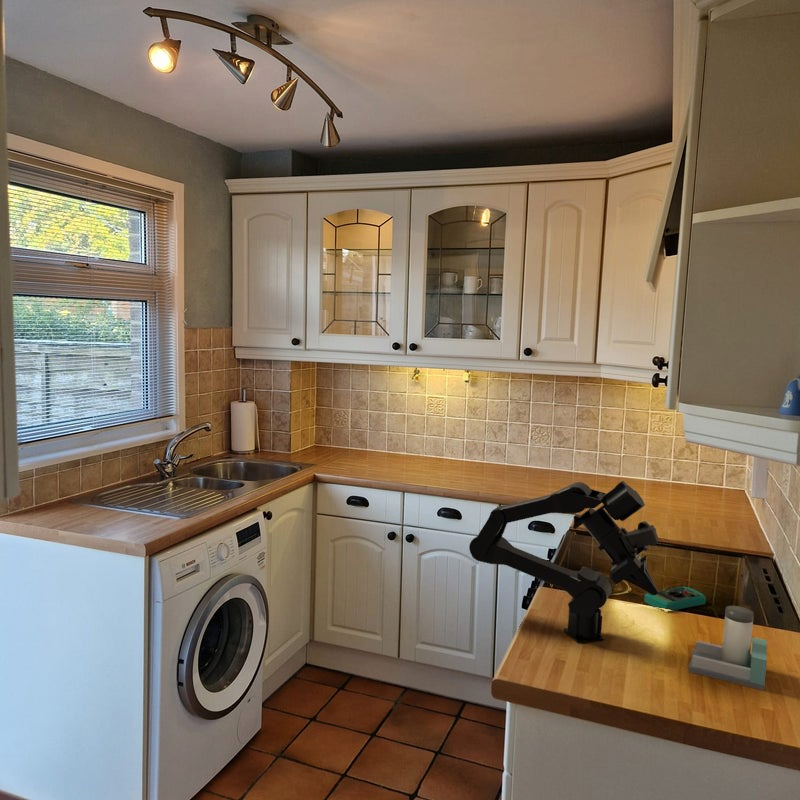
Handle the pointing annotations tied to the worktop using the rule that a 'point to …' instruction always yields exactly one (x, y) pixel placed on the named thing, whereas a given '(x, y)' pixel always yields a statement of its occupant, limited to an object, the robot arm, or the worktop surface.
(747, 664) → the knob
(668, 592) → the digital multimeter
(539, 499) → the robot arm
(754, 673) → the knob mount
